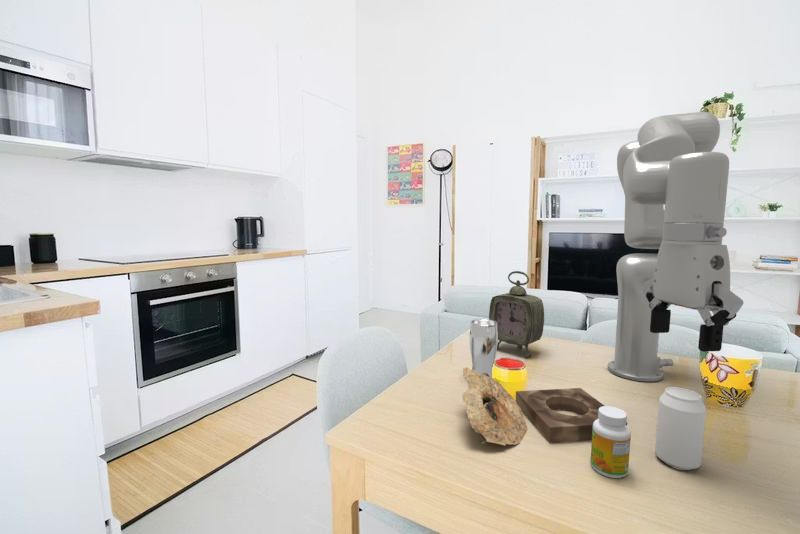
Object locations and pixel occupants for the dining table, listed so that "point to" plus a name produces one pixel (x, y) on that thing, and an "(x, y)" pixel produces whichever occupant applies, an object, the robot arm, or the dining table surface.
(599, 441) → the supplement bottle
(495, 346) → the beer glass
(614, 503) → the dining table surface
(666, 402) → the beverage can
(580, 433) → the can holder
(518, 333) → the tabletop clock
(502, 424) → the holed granite stone
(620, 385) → the dining table surface
